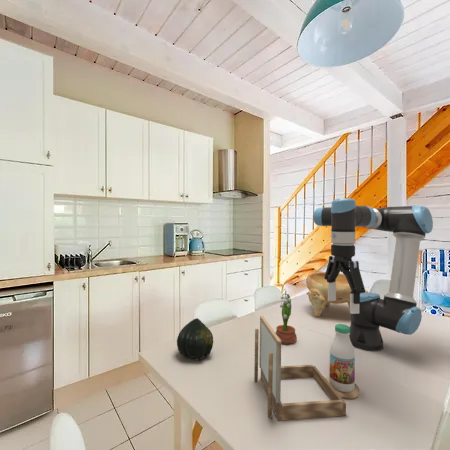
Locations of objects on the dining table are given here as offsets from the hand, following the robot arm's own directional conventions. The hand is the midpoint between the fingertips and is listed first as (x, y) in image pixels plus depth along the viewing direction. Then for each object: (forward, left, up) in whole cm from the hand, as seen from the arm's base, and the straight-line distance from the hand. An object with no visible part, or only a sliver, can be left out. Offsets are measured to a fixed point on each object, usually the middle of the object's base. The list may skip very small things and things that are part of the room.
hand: (342, 306), depth 90 cm
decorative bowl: (-33, -70, -27) cm, 82 cm away
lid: (+27, +4, -22) cm, 35 cm away
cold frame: (+17, +4, -27) cm, 32 cm away
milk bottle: (+1, +2, -26) cm, 26 cm away
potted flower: (+8, -34, -27) cm, 44 cm away
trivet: (+1, +2, -27) cm, 27 cm away
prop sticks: (+29, +4, -27) cm, 39 cm away
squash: (+50, -25, -27) cm, 62 cm away
